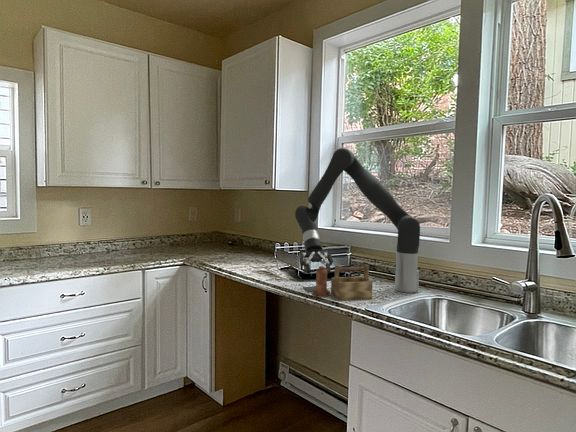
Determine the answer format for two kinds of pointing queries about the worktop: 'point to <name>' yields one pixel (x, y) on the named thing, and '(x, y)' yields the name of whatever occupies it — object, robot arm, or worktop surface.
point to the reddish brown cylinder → (321, 281)
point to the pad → (310, 288)
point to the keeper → (317, 293)
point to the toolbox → (351, 284)
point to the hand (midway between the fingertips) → (319, 272)
